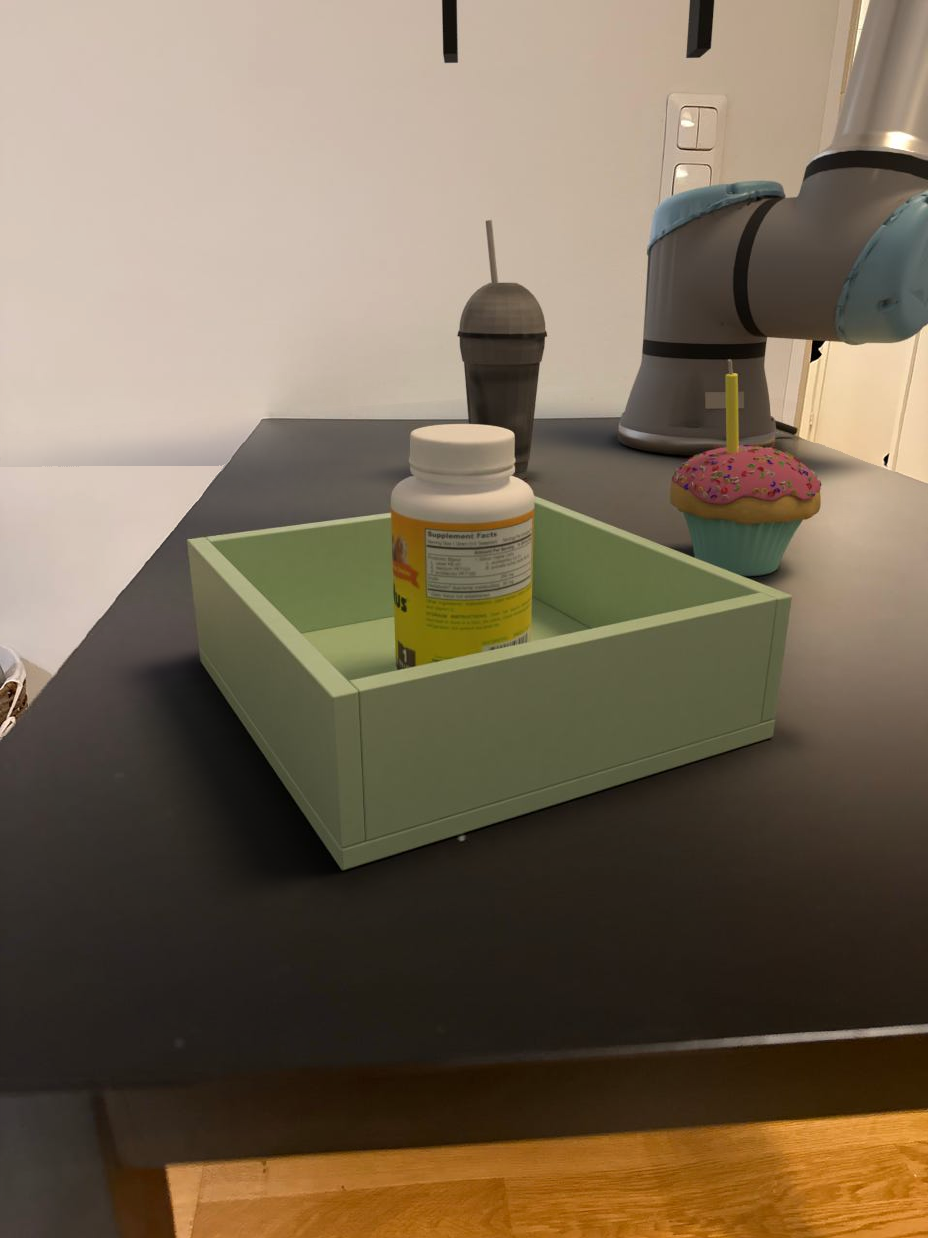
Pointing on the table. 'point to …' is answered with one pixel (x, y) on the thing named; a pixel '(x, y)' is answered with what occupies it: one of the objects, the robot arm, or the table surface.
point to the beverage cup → (503, 357)
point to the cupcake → (743, 499)
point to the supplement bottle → (461, 546)
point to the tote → (479, 676)
